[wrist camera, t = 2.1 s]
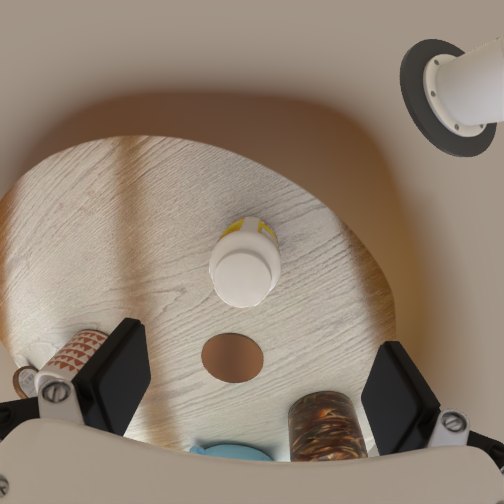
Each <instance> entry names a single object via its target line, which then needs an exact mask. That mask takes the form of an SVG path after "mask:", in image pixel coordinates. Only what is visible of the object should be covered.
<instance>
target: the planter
mask: <svg viewBox="0 0 504 504" xmlns="http://www.w3.org/2000/svg"><path fill="white" fill-rule="evenodd" d="M108 337H109V336H107V335H106V334H103V333H101V332H98V331H94V330H84V331H81V332H79V333H77V334H76V335H75V336H74V337H73V338H72V339H71V340H70V341H69V342H68V343H67V344H66V345H65V346H64V347H63V348H62V349H60V350H59V351H58V352H57V353H56V354H55V355H54V356H53V357H52V358H51V359H50V360H49V361H48V362H47V363H46V365H45V366H44V367H43V368H42V369H41V370H40V371H39V372H38V373H37V374H36V376H35V379H34V383H35V388H36V391H37V394H38V389H39V387H40V385H41V384H43V383H44V382H45V381H47V380H49V379H52V378H63V379H66V380H68V381H71V380H72V379H73V378H74V376H75V375H76V374H77V373H78V372H79V370H80V369H81V368H82V367H83V366H84V364H85V363H86V362H87V361H88V360H89V359H90V357H91V356H92V355H93V354H94V353H95V351H96V350H97V349H98V348H99V347H100V346H101V345H102V343H103V342H104V341H105V340H106V339H107V338H108Z"/></svg>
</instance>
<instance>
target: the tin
mask: <svg viewBox="0 0 504 504" xmlns="http://www.w3.org/2000/svg"><path fill="white" fill-rule="evenodd" d="M37 373H38V371H37V370H36V369H35V368H33V367H30V366H24V367H21V368H20V369H18V370H17V371H16V372H15V374H14V376H13V386H14V388H15V390H16V393H17V394H18V396H19V397H20V398H21V399H25V398H31V397H36V396H38V394H37V391H36V388H35V383H34V379H35V376H36V374H37Z"/></svg>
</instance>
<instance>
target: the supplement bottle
mask: <svg viewBox="0 0 504 504" xmlns="http://www.w3.org/2000/svg"><path fill="white" fill-rule="evenodd" d="M209 272H210V276H211V278H212V281H213V285H214V288H215V291H216V293H217V294H218V296H219V297H220V298H221V299H222V300H223V301H224V302H226V303H227V304H229V305H232V306H235V307H240V308H246V307H251V306H254V305H257V304H258V303H260V302H261V301H262V300H264V298H265V297H266V296H267V295H268V293H269V292H270V291H271V290H272V289H273V288H274V287H275V285H276V284H277V282H278V280H279V277H280V273H281V258H280V253H279V247H278V241H277V237H276V235H275V232H274V230H273V229H272V227H271V226H270V225H269V224H268V223H266V222H265V221H264V220H262V219H259V218H256V217H243V218H239V219H237V220H235V221H234V222H232V223H231V224H230V225H229V226H228V227H227V229H226V230H225V231H224V233H223V234H222V236H221V237H220V239H219V240H218V242H217V243H216V245H215V246H214V248H213V250H212V252H211V255H210V259H209Z"/></svg>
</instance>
